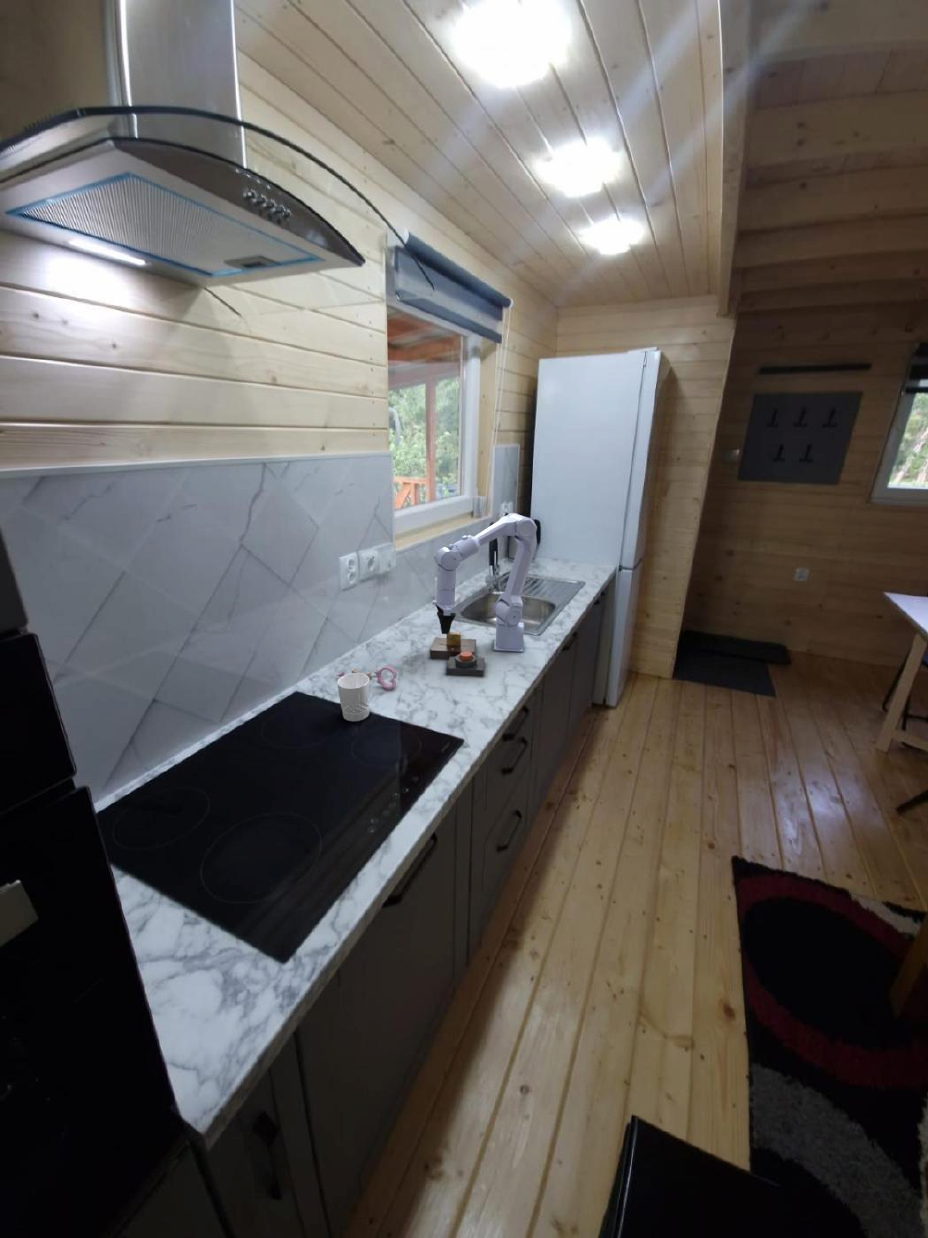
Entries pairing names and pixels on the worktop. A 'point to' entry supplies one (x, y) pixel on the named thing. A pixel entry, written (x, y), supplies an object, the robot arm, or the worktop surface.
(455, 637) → the lock knob
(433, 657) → the plate
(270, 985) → the worktop surface
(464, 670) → the doorbell
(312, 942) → the worktop surface
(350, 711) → the white cup
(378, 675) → the decorative key
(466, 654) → the bell button
